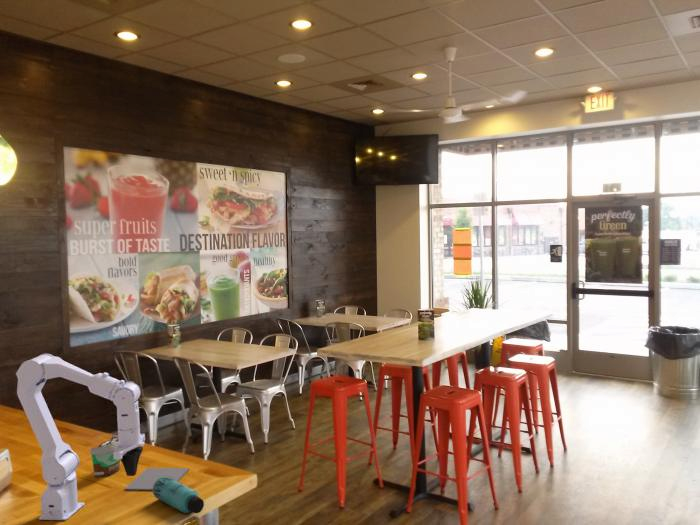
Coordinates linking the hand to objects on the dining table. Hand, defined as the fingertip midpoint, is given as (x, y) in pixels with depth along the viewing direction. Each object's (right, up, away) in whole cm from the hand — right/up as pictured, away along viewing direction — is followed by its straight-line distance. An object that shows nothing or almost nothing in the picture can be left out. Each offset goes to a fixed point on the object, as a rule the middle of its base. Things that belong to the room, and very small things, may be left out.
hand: (131, 474), depth 166 cm
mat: (+1, -8, +19) cm, 21 cm away
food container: (-16, -9, +27) cm, 32 cm away
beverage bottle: (+5, -6, +7) cm, 10 cm away
